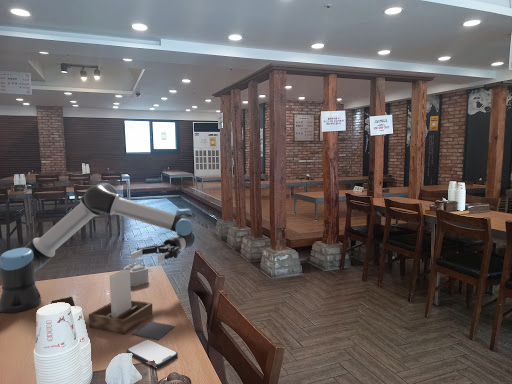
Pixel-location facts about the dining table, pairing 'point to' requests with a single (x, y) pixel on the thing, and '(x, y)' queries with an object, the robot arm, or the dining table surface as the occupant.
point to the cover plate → (120, 292)
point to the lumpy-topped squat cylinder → (137, 274)
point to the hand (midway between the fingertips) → (144, 258)
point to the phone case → (152, 353)
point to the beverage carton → (66, 300)
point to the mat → (153, 330)
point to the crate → (120, 317)
